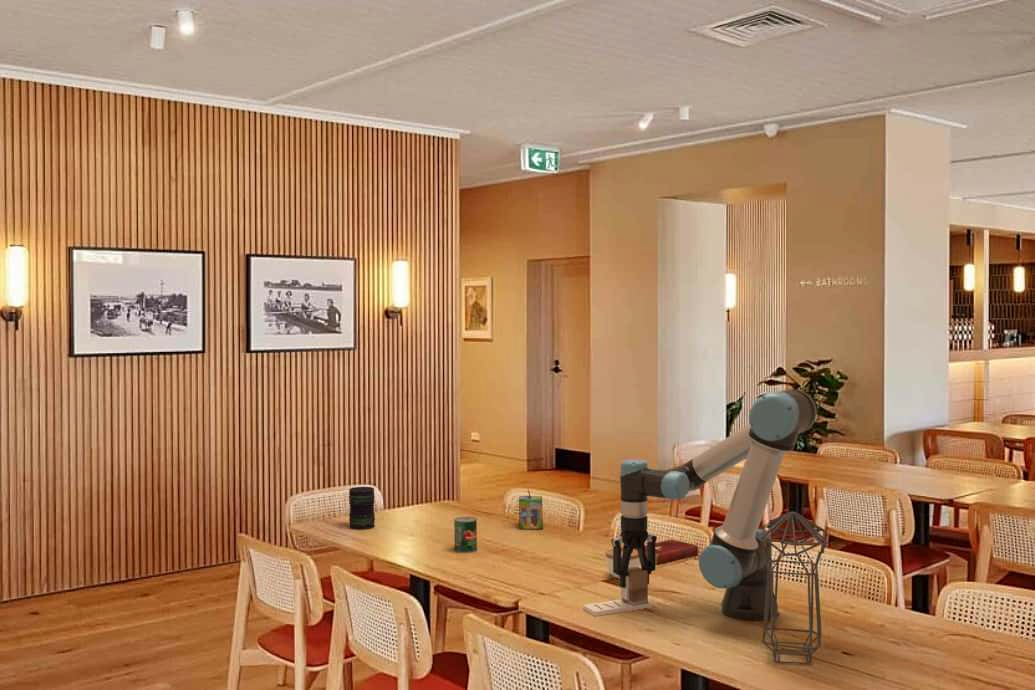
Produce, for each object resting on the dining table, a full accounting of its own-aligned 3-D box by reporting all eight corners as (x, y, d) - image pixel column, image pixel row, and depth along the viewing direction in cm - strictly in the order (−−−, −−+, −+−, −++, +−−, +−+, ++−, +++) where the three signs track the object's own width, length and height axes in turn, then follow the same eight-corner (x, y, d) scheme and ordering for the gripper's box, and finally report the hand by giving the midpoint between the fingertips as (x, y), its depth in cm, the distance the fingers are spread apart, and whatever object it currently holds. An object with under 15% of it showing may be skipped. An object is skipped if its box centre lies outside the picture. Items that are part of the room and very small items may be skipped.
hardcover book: (698, 556, 336) (698, 544, 336) (656, 567, 323) (656, 554, 323) (671, 550, 345) (671, 538, 345) (629, 560, 332) (629, 548, 332)
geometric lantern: (760, 644, 246) (760, 504, 244) (827, 650, 241) (827, 507, 240) (756, 666, 231) (756, 516, 229) (827, 672, 226) (827, 520, 225)
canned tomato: (472, 553, 341) (471, 522, 341) (451, 552, 344) (450, 520, 344) (480, 548, 349) (480, 517, 349) (459, 546, 352) (459, 516, 351)
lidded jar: (638, 582, 304) (638, 551, 303) (603, 580, 306) (603, 550, 305) (641, 573, 314) (641, 543, 314) (607, 571, 316) (607, 542, 316)
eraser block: (647, 603, 277) (647, 571, 277) (632, 605, 275) (632, 573, 275) (636, 597, 283) (636, 566, 282) (621, 600, 281) (621, 568, 280)
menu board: (651, 607, 277) (651, 603, 277) (594, 616, 270) (594, 611, 270) (638, 601, 283) (638, 596, 283) (583, 609, 276) (583, 604, 276)
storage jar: (353, 524, 391) (353, 486, 391) (378, 524, 390) (377, 486, 390) (346, 529, 382) (345, 491, 381) (370, 530, 380) (370, 491, 380)
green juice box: (543, 529, 378) (542, 491, 378) (519, 529, 378) (518, 491, 378) (542, 524, 387) (542, 486, 387) (519, 524, 388) (518, 487, 387)
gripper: (654, 510, 285) (655, 590, 286) (599, 515, 278) (599, 598, 279) (668, 514, 278) (669, 596, 279) (612, 520, 271) (612, 605, 272)
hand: (634, 597), depth 279 cm, fingers closed on eraser block, 5 cm apart
